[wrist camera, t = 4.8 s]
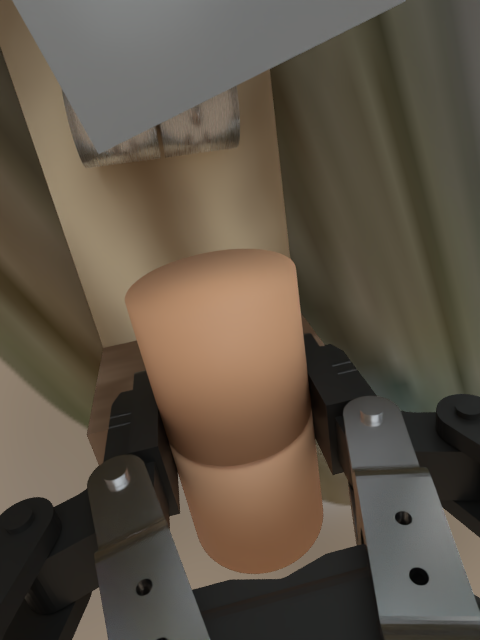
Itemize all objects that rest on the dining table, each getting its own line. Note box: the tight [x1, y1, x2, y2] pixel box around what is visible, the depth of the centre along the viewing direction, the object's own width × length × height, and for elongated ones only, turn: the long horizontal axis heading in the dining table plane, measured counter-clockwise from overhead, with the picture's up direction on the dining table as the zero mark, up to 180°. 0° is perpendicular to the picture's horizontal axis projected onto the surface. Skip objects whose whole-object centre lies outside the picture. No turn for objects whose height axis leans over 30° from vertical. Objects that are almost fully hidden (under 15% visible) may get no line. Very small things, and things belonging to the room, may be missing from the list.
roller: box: [125, 249, 323, 574], centre depth 12 cm, size 8×4×4 cm, turn 10°
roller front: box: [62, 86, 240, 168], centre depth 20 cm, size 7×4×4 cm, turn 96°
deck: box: [0, 0, 324, 465], centre depth 19 cm, size 12×28×9 cm, turn 9°
